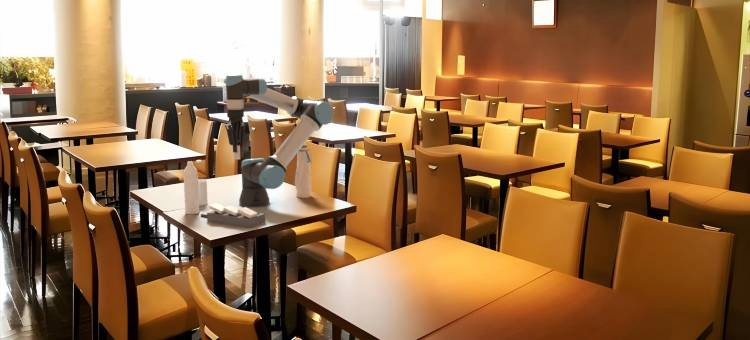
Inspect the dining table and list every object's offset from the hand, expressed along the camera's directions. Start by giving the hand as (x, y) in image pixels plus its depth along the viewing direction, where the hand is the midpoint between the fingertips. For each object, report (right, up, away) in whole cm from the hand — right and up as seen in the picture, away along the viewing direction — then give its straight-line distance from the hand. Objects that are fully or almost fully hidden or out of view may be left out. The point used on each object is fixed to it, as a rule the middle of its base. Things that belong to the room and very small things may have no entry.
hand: (237, 159), depth 286 cm
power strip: (-2, -28, -7) cm, 29 cm away
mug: (-25, -23, +22) cm, 40 cm away
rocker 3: (+8, -24, -15) cm, 30 cm away
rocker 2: (+1, -24, -12) cm, 26 cm away
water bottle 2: (+27, -20, +41) cm, 53 cm away
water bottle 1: (-22, -26, +6) cm, 34 cm away
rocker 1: (-6, -23, -8) cm, 25 cm away
